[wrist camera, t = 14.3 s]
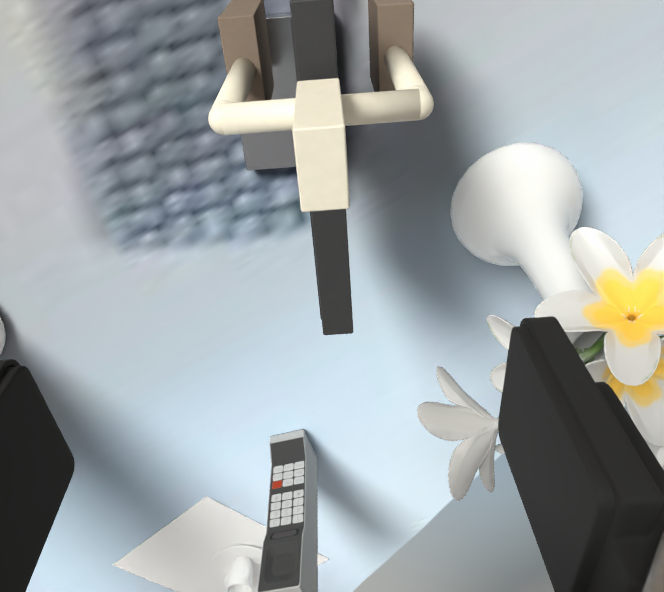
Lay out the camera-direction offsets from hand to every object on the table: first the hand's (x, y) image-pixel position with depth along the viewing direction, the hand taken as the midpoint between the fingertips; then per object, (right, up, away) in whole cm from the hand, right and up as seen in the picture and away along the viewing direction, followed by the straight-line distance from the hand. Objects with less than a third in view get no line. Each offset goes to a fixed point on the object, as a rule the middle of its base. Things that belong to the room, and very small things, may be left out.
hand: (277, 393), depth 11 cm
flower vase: (+14, +10, +33) cm, 37 cm away
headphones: (0, +17, +23) cm, 28 cm away
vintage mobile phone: (-3, -14, +50) cm, 52 cm away
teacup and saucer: (-13, -33, +63) cm, 72 cm away
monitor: (-2, +16, +28) cm, 32 cm away
